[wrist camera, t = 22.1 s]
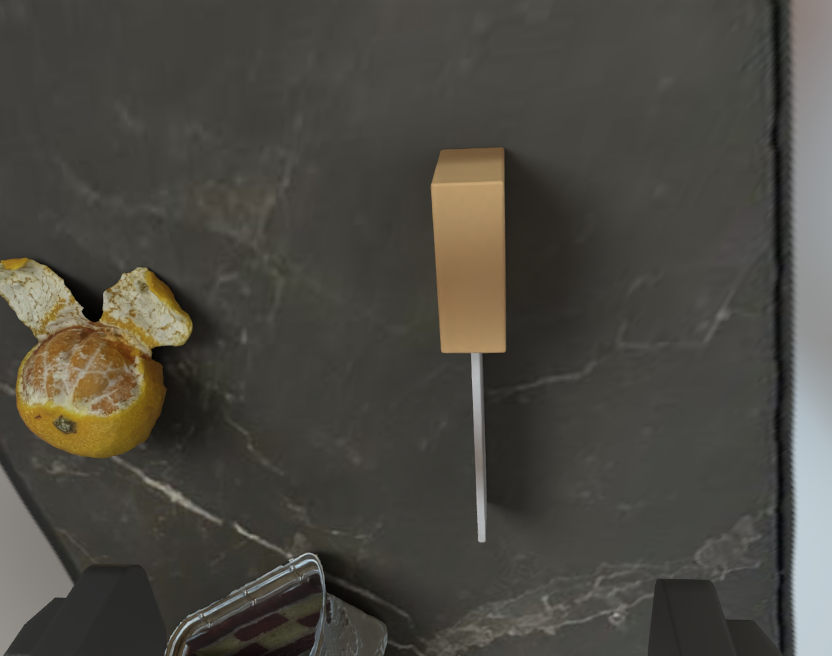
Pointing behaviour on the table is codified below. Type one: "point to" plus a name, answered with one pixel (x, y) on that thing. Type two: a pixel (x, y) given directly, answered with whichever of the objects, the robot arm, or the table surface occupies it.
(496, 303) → the knife
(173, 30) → the table surface
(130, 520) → the table surface
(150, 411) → the fruit
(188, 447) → the table surface
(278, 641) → the chocolate cake
